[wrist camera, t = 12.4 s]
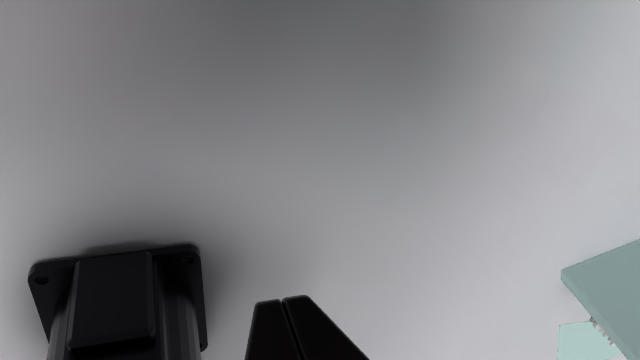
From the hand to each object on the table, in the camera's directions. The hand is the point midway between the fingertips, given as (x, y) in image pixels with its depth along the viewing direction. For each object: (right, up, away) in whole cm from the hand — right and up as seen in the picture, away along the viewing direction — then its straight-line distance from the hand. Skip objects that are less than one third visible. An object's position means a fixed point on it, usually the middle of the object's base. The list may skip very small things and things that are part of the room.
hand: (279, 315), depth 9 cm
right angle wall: (+21, -5, +27) cm, 34 cm away
